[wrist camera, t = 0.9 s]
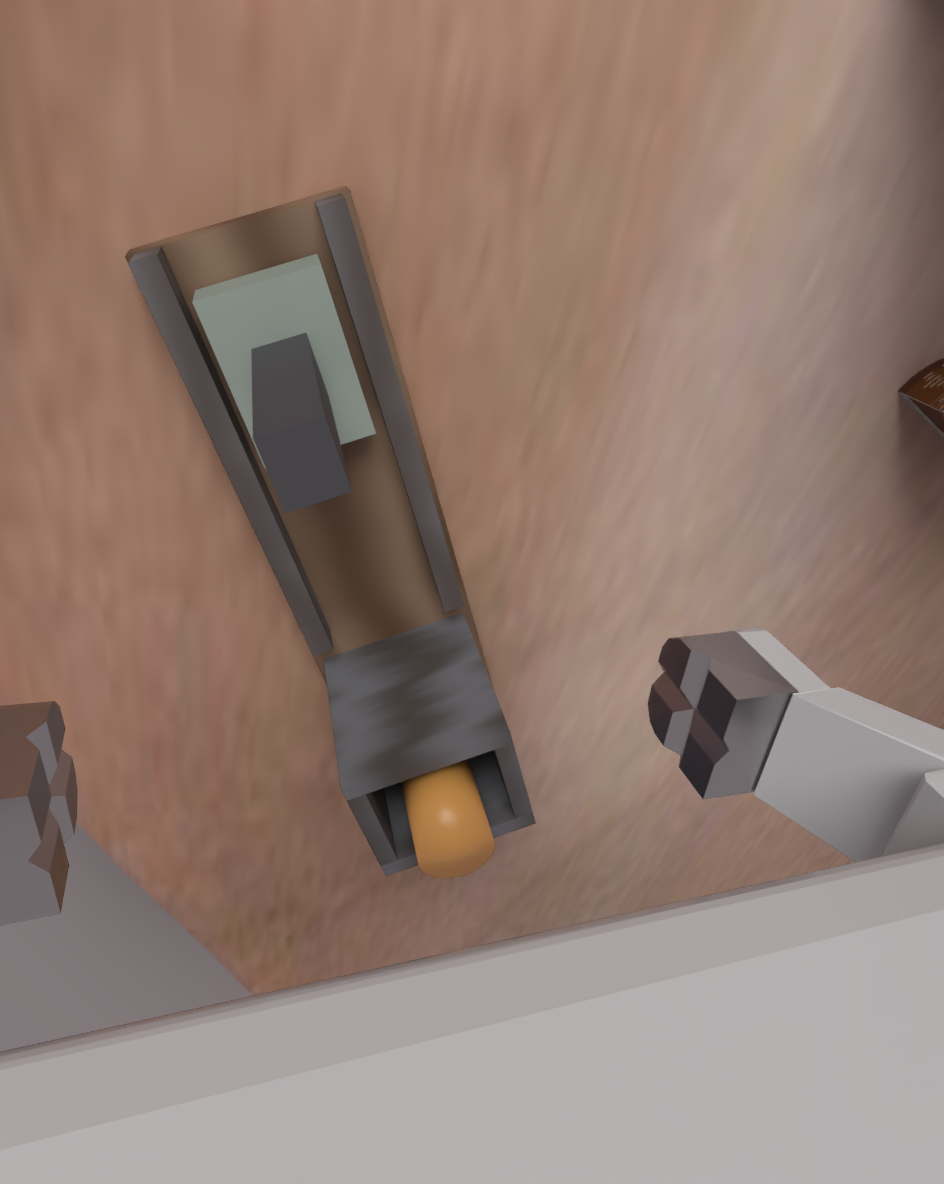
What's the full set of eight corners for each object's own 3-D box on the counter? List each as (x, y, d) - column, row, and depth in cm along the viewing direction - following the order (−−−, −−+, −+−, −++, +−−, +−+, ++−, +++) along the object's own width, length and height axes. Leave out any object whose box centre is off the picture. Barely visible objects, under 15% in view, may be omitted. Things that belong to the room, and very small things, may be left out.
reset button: (459, 731, 43) (485, 816, 38) (474, 776, 45) (501, 861, 40) (390, 754, 42) (408, 843, 37) (409, 799, 45) (428, 887, 40)
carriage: (316, 253, 34) (345, 329, 24) (370, 416, 39) (411, 535, 29) (195, 290, 34) (174, 382, 24) (264, 450, 39) (270, 581, 29)
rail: (346, 186, 34) (384, 233, 25) (490, 684, 53) (543, 820, 44) (129, 249, 34) (82, 323, 24) (353, 731, 53) (377, 879, 43)
